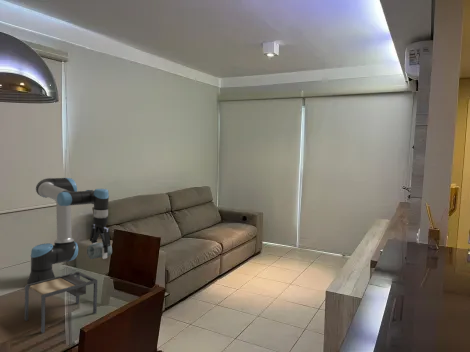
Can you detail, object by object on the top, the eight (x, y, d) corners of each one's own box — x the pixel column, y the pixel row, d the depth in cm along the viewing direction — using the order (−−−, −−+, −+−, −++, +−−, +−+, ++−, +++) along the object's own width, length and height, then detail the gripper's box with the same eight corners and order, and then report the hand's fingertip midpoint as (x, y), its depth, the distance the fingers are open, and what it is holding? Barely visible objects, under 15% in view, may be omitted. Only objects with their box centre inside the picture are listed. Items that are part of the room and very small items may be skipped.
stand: (77, 302, 193) (78, 271, 191) (96, 313, 182) (97, 280, 181) (24, 320, 171) (25, 285, 170) (42, 333, 160) (42, 295, 159)
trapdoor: (71, 286, 187) (71, 275, 186) (85, 293, 178) (86, 282, 178) (29, 297, 170) (29, 285, 170) (43, 306, 162) (43, 294, 161)
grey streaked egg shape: (89, 256, 187) (91, 238, 191) (83, 260, 193) (85, 242, 198) (114, 259, 195) (115, 241, 199) (107, 262, 201) (109, 245, 206)
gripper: (83, 214, 199) (82, 253, 200) (106, 220, 186) (104, 262, 187) (95, 213, 205) (94, 250, 206) (118, 219, 192) (117, 259, 193)
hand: (99, 256), depth 197 cm, fingers closed on grey streaked egg shape, 9 cm apart
